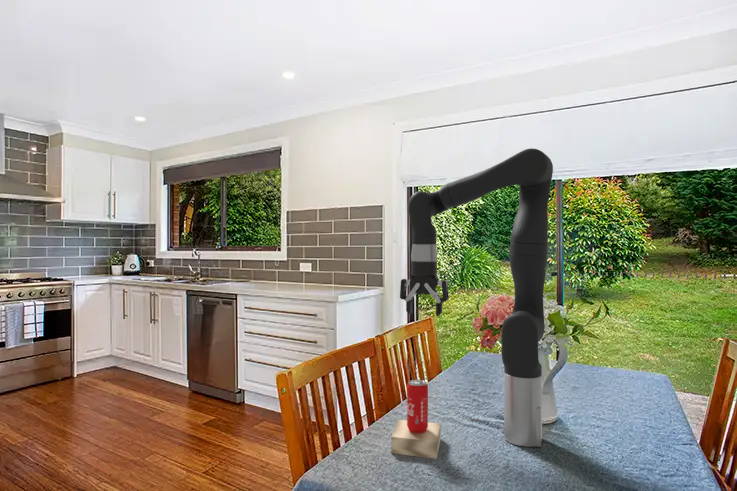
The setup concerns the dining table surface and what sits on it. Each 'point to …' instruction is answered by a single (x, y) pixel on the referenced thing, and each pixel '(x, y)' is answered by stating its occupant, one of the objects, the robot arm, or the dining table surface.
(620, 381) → the dining table surface
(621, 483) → the dining table surface
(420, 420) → the beverage can
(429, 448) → the beech block
